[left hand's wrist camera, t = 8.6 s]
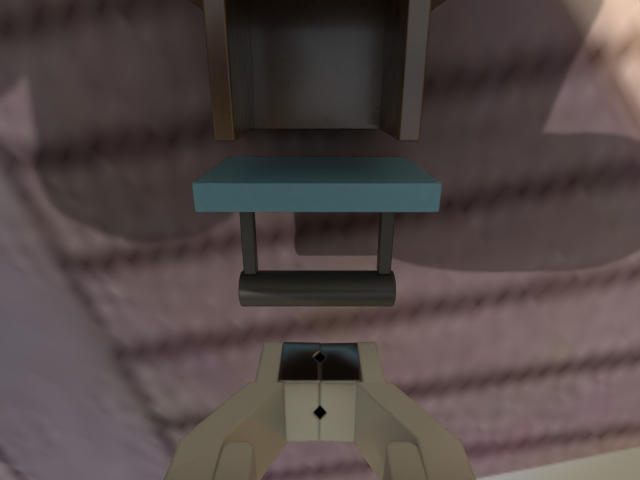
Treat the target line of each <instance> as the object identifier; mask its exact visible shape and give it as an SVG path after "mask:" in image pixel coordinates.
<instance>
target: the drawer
mask: <svg viewBox="0 0 640 480" xmlns="http://www.w3.org/2000/svg"><path fill="white" fill-rule="evenodd" d="M430 11H431V0H203V12H204V23H205V34H206V46H207V57H208V68H209V80H210V91H211V102H212V114H213V125H214V136H215V140H216V141H234V140H236V139H238V138H239V137H241V136H243V135H245V134H246V133H248V132H250V131H252V130H253V129H381V130H382V131H384V132H386V133H387V134H389V135H391V136H392V137H394V138H395V139H397V140H399V141H419V139H420V127H421V115H422V104H423V92H424V81H425V69H426V58H427V46H428V34H429V23H430ZM441 187H442V184H441V183H440V182H439V181H437V180H436V179H435V178H433V177H432V176H431V175H429V174H428V173H427V172H425V171H424V170H423V169H421V168H420V167H419V166H417V165H416V164H415V163H413V162H412V161H411V160H409V159H408V158H407V157H228V158H227V159H225V160H224V161H223V162H221V163H220V164H218V165H217V166H216V167H214V168H213V169H211V170H210V171H209V172H207V173H206V174H205V175H203V176H202V177H200V178H199V179H198V180H196V181H195V182H194V183H193V184H192V188H193V197H194V206H195V211H196V212H240V225H241V239H242V253H243V267H244V271H242V272H241V274H240V279H239V301H240V304H241V306H393V305H394V303H395V297H396V283H395V276H394V273H393V271H391V260H392V246H393V231H394V217H395V212H438V211H439V205H440V196H441ZM255 212H380V220H379V238H378V256H377V271H257V270H258V261H257V243H256V226H255Z"/></svg>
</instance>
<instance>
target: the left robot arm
mask: <svg viewBox="0 0 640 480" xmlns="http://www.w3.org/2000/svg"><path fill="white" fill-rule="evenodd" d="M308 441H331V442H354V444H355V446H356V447H357V449H358V450H359V451H360V453H361V454H362V455H363V457H364V458H365V460H366V461H367V462H368V464H369V465H370V466H371V468H372V469H373V471H374V472H375V473H376V475H377V476H378V478H379V479H380V480H476V478H475V475H474V473H473V470H472V468H471V465H470V463H469V460H468V458H467V455H466V453H465V450H464V448H463V445H462V443H461V440H460V439H458V438H457V437H456V436H455V435H454V434H452V433H451V432H450V431H449V430H448V429H446V428H445V427H444V426H443V425H442V424H440V423H439V422H438V421H437V420H435V419H434V418H433V417H432V416H431V415H429V414H428V413H427V412H426V411H425V410H423V409H422V408H421V407H420V406H419V405H417V404H416V403H415V402H414V401H413V400H411V399H410V398H409V397H408V396H407V395H405V394H404V393H403V392H402V391H401V390H399V389H398V388H397V387H396V386H395V385H393V384H392V383H391V382H385V379H384V375H383V370H382V366H381V361H380V357H379V353H378V348H377V344H376V343H375V342H357V343H304V342H284V343H283V342H265V343H264V344H263V348H262V352H261V357H260V361H259V366H258V370H257V375H256V379H255V382H249V383H248V384H247V385H245V386H244V387H243V388H242V389H241V390H239V391H238V392H237V393H236V394H235V395H233V396H232V397H231V398H230V399H228V400H227V401H226V402H225V403H224V404H222V405H221V406H220V407H219V408H218V409H216V410H215V411H214V412H213V413H212V414H210V415H209V416H208V417H207V418H206V419H204V420H203V421H202V422H201V423H199V424H198V425H197V426H196V427H195V428H193V429H192V430H191V431H190V432H189V433H187V434H186V435H185V436H184V437H183V438H181V439H180V441H179V443H178V446H177V448H176V451H175V453H174V455H173V458H172V460H171V463H170V465H169V468H168V470H167V473H166V475H165V478H164V480H260V479H261V478H262V476H263V475H264V474H265V472H266V471H267V470H268V468H269V467H270V465H271V464H272V463H273V461H274V460H275V459H276V457H277V456H278V454H279V453H280V452H281V450H282V449H283V448H284V446H285V445H286V442H308Z"/></svg>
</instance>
